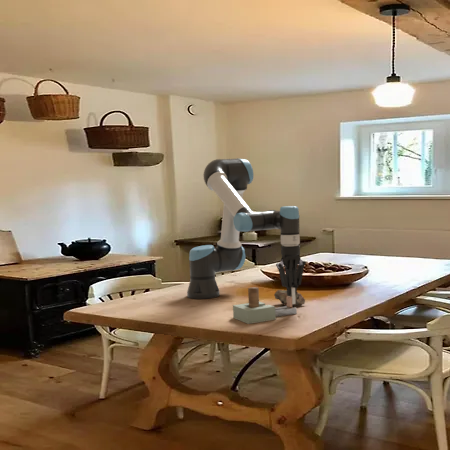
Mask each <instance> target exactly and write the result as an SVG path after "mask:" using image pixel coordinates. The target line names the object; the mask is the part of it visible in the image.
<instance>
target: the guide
mask: <svg viewBox="0 0 450 450" xmlns="http://www.w3.org/2000/svg"><path fill="white" fill-rule="evenodd" d="M283 307H285V305H284V306H283ZM297 312H298V310H297V307H295V306H293V307H292V308H287V309H281V310H275V318H277V317H284V316H290V315H297Z"/></svg>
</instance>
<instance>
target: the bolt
mask: <svg viewBox="0 0 450 450" xmlns="http://www.w3.org/2000/svg"><path fill="white" fill-rule="evenodd" d="M284 306H285V305H284ZM284 306H279V307H278V306H277V307H275V310H281V309H287V308H293V306H292V297H287V306H285V307H284Z"/></svg>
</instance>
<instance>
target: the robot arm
mask: <svg viewBox="0 0 450 450" xmlns="http://www.w3.org/2000/svg"><path fill="white" fill-rule="evenodd" d="M253 180H254V170H253V166H252V164H251V162H250V161H249V160H248V159H246V158H217V159H214V160H212V161H210V162H209V163H208V164H207V165H206V166H205V167H204V170H203V181H204V184H205V185H206V187H207V188H208V189H209V190H210V191H211V192H212V191H213V192H214V193H215V195H216V196H217V197H218V198H219V200H220V201H221V202H222V203H223V207H222V220H221V221H222V222H221V233H220V239H219V240H218V241H217V242H216V247H215V246H214V245H212V244H205V245H200V246H198V245H197V246H195V247H193V248H191V249H190V250H189V257H188V260H189V277H190V279H189V284H188V287H187V291H186V294H187V295H186V296H187V297H186V298H189V299H194V300H195V299H196V300H207V299H214V298H218V297H219V296H220V288H219V286H218V283H217V281H216V273H221V272H234V271H237V270H240V269H241V268H243V266H244V264H245V262H246V252H245V251H246V250H245V247H243V245H242V242H241V241H240V232H246V233H248V232H252V231H253V232H255V231H266V230H279V231H280V245H281V246H280V253H281V254H280V255H281V259H280V262H279V263H276V264H275V266H276V268H277V269H278V273H279V277H280V281H281V285H282V287H285V288H286V290H287V296H289V297H292V304H296V300H295V295H297V292H298V291H297V289H298V288H299V286H301V285H302V282H303V281H302V280H303V274H304V268H305V266H306V264H307V263H306V260H302V259H301V256H300V254H301V245H299V244H300V243H301V239H300V238H301V237H300V213H299V211H300V209H299V207H298V206H296V205H287V206H286V205H285V206H284V205H283V206H281V207H280V208H279V210H276V209H269V210H266V211H253V210H252V209H251V207H250V206H249V205H248V204H247V202H246V201H245V200H244V193H245V192H246V191H247V190H248V185H250V184H252V182H253Z"/></svg>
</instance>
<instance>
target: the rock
mask: <svg viewBox="0 0 450 450" xmlns="http://www.w3.org/2000/svg"><path fill="white" fill-rule="evenodd" d="M273 295H274V296H273V297H274V299H276V300H278V301H280V303H281V304H282V305H284V306H287V297H289V296H287V289H286V290H285V289H284V290H282V289H277V290H276V291H275V292H274V294H273ZM295 300H296V304H292V307H295V306H302V305H305V303H306V299H305V298H304V296H303V295H302V294H301V292H298V291H297V295H295Z"/></svg>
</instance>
